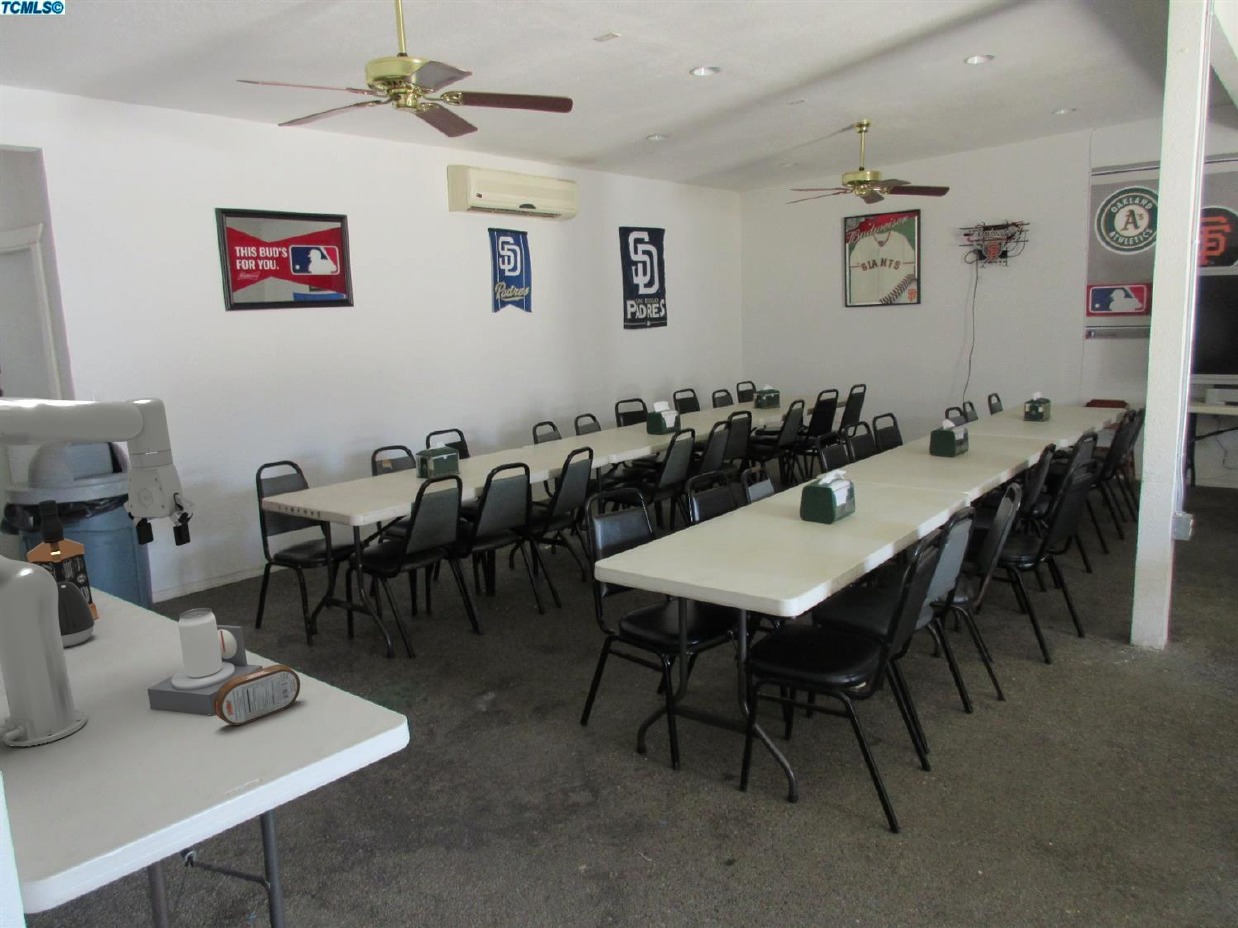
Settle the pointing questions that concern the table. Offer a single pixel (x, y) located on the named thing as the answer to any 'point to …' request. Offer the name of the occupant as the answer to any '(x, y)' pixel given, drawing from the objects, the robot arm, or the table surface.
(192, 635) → the can
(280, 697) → the tin
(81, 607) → the pump dispenser
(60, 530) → the whiskey bottle
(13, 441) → the robot arm
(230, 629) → the scale
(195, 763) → the table surface
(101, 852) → the table surface
